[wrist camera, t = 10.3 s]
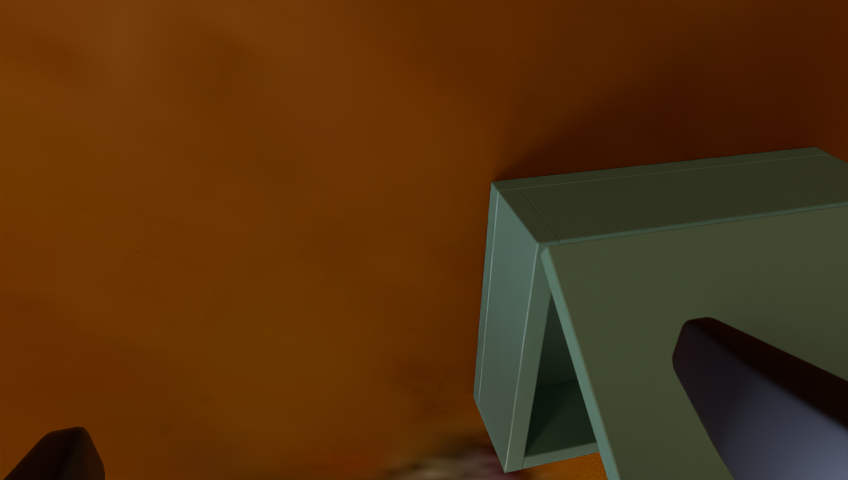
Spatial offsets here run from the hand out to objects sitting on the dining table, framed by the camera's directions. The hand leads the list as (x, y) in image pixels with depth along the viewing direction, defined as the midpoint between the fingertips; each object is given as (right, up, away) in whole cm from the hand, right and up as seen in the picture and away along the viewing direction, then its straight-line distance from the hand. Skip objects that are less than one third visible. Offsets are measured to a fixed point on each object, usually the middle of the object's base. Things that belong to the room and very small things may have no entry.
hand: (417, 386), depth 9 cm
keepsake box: (+10, 0, +17) cm, 20 cm away
